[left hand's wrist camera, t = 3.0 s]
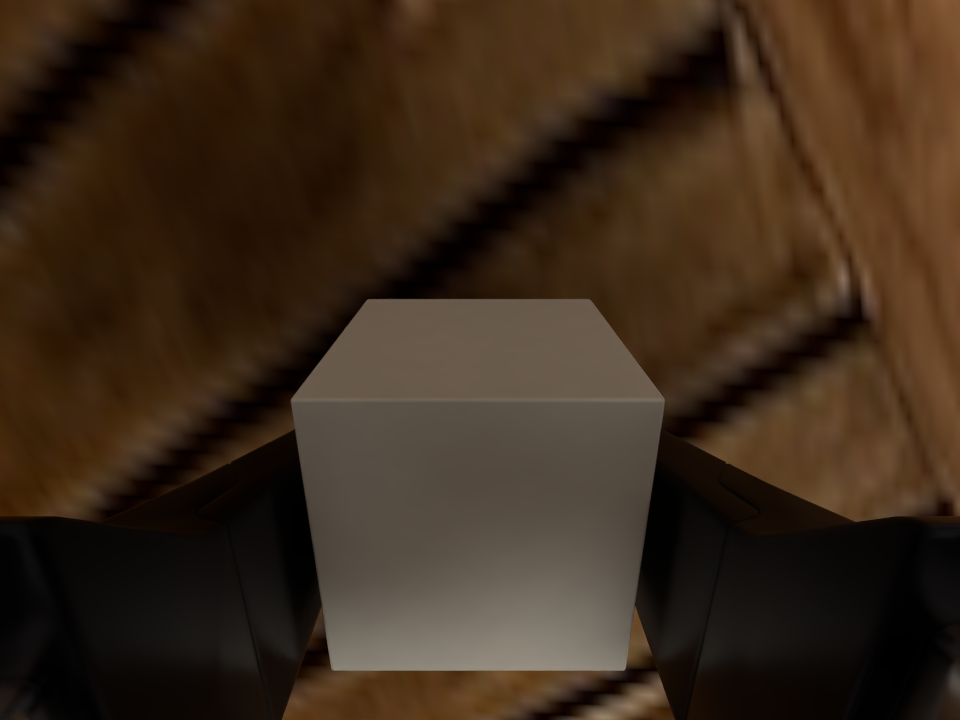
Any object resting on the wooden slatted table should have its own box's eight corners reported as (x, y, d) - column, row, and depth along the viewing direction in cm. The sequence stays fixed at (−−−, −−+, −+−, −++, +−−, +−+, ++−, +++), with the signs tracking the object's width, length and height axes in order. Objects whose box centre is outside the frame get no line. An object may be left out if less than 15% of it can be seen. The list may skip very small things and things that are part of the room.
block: (590, 298, 11) (666, 399, 7) (575, 489, 13) (626, 672, 8) (366, 298, 11) (289, 399, 7) (382, 490, 13) (330, 672, 8)
